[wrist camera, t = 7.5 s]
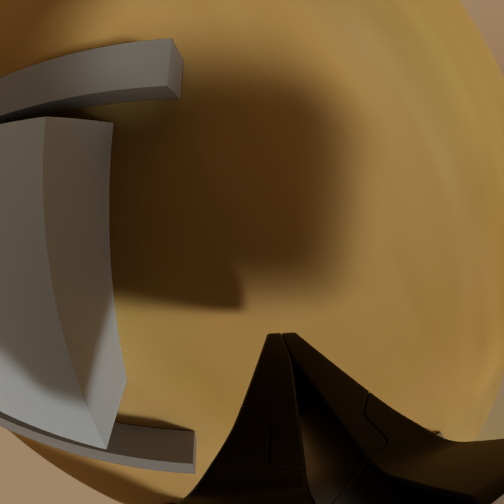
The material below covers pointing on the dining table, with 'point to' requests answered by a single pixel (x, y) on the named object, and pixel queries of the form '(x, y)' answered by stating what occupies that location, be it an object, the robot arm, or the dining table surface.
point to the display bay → (84, 95)
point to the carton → (58, 279)
